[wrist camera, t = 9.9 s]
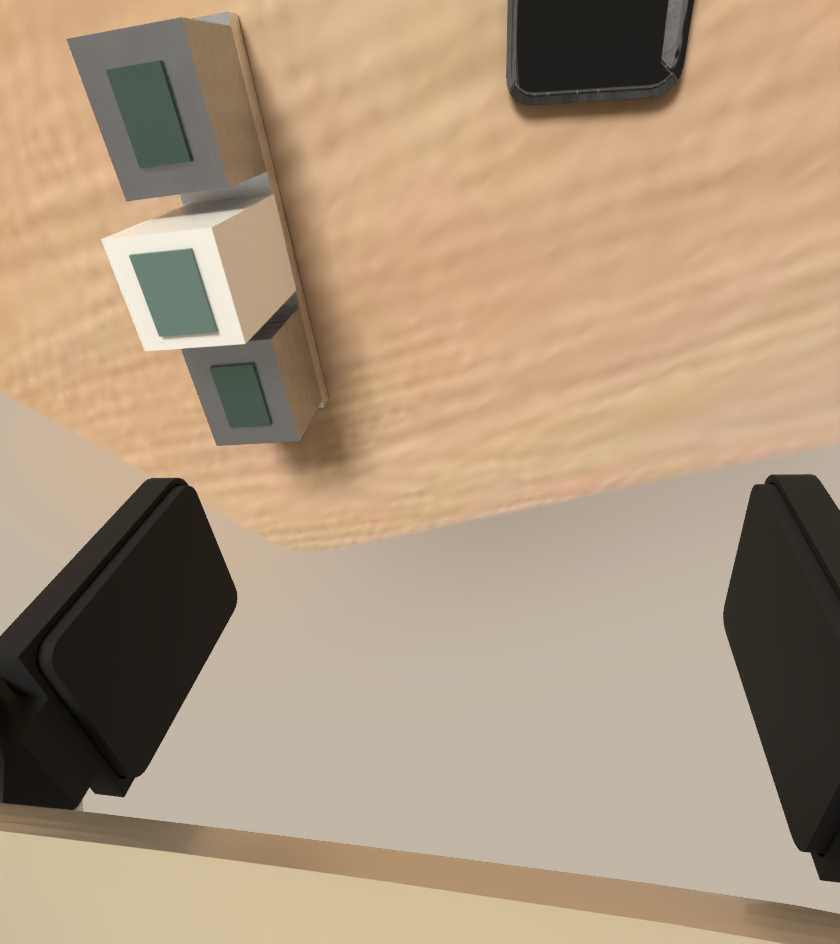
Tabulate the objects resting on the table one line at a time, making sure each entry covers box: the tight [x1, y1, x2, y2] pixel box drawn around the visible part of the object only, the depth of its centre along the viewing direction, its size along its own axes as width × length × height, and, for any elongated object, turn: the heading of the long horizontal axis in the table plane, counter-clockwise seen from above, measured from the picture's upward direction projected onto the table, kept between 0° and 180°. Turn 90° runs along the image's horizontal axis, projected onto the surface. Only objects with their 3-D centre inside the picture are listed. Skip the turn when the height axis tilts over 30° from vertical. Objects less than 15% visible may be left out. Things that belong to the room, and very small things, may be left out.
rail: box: [67, 12, 329, 446], centre depth 31 cm, size 5×20×6 cm, turn 7°
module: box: [101, 194, 296, 351], centre depth 29 cm, size 5×5×8 cm
